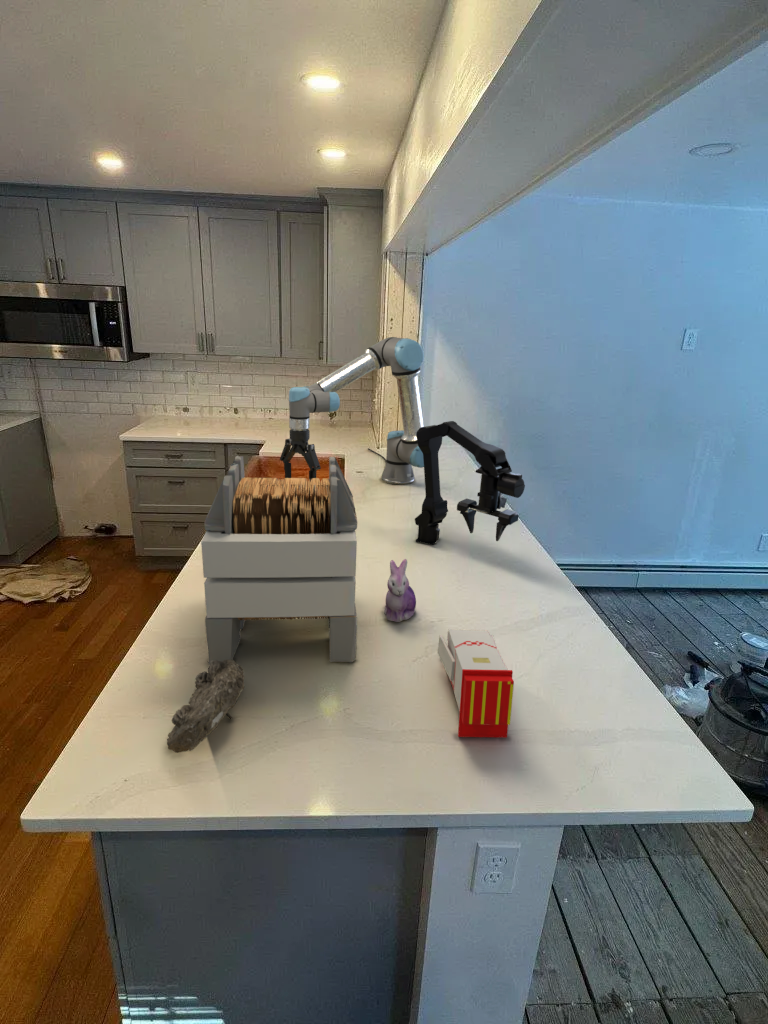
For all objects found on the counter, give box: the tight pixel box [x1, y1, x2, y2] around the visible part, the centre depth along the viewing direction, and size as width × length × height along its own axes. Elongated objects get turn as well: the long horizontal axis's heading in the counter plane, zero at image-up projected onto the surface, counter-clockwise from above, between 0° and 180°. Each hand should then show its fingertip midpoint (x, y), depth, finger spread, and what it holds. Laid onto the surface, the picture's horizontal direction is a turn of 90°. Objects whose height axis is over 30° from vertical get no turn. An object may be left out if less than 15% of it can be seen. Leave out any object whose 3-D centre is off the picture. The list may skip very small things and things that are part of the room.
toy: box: [437, 628, 515, 738], centre depth 117 cm, size 12×13×30 cm
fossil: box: [166, 659, 245, 754], centre depth 106 cm, size 22×10×15 cm
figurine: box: [384, 558, 417, 623], centre depth 145 cm, size 9×10×15 cm
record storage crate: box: [200, 455, 358, 666], centre depth 133 cm, size 34×33×41 cm
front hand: (484, 536), depth 178 cm, fingers open, 9 cm apart
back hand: (300, 482), depth 222 cm, fingers open, 13 cm apart
